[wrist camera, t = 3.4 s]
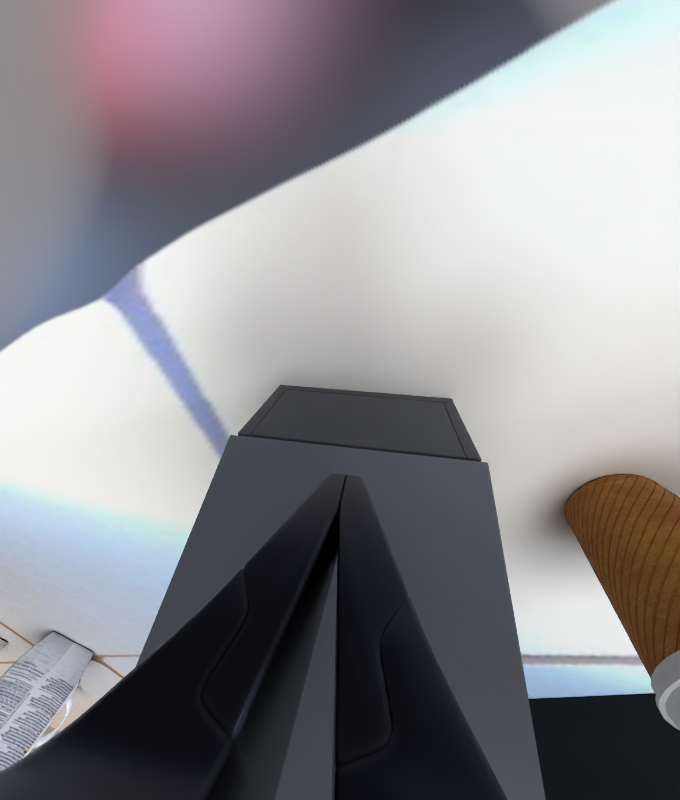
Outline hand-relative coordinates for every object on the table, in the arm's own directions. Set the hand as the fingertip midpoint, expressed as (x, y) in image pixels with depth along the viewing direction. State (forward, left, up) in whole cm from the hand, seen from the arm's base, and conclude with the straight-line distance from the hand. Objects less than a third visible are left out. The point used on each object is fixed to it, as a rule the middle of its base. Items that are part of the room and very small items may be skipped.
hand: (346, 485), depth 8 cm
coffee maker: (-53, -27, -12) cm, 60 cm away
